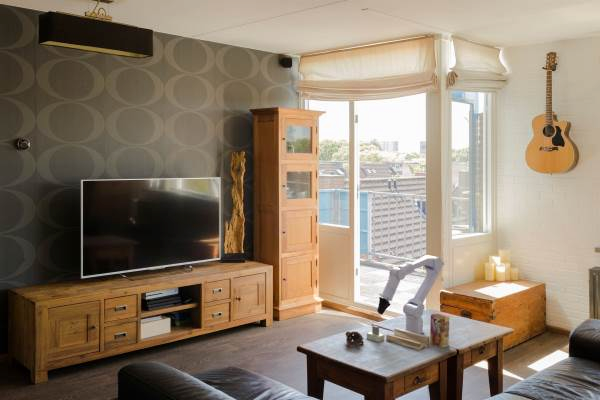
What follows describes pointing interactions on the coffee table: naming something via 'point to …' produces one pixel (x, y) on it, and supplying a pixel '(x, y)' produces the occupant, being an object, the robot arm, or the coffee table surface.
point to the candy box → (439, 330)
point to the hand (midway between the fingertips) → (379, 313)
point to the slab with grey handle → (375, 334)
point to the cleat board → (408, 339)
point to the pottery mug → (355, 337)
